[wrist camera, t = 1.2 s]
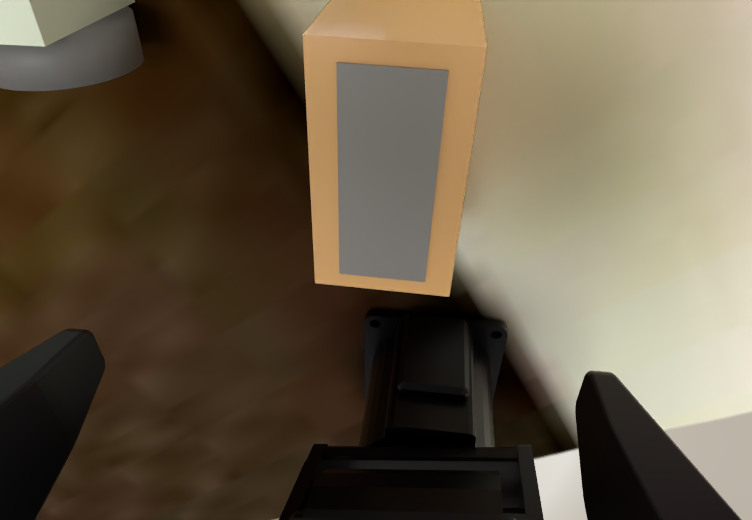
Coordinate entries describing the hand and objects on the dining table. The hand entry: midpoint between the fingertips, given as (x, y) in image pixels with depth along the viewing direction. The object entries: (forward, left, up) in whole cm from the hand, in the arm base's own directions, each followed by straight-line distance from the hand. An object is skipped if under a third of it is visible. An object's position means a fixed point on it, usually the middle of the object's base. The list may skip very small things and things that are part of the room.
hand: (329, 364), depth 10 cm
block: (0, 0, -12) cm, 12 cm away
